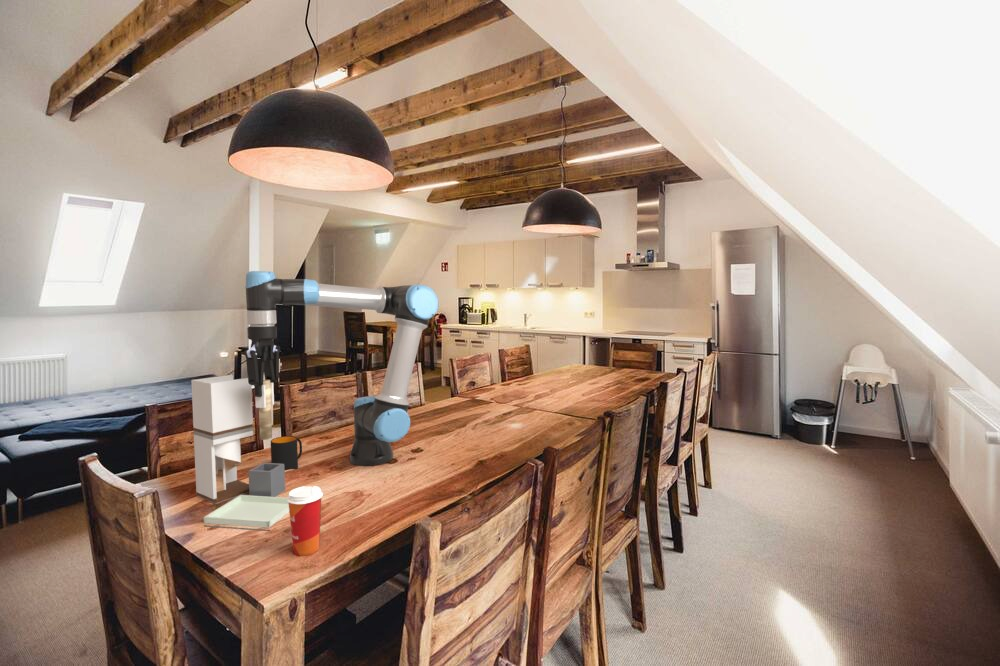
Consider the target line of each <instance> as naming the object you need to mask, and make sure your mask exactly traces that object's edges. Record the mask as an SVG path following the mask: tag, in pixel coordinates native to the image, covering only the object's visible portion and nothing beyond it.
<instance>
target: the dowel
mask: <svg viewBox="0 0 1000 666" xmlns="http://www.w3.org/2000/svg"><path fill="white" fill-rule="evenodd" d="M263 385H265V391H266V408H258V419H259V421H258V422H259V440H260V441H266V440H268V441H269V440H272V439H273V423H272V419H273V417H272V405H271V389H270V380H265V379H263Z"/></svg>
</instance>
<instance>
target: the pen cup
mask: <svg viewBox="0 0 1000 666" xmlns="http://www.w3.org/2000/svg"><path fill="white" fill-rule="evenodd" d="M285 471H286V470H285V469H284V464H278V463H271V462H262V463H260V464H258V465H256V466H255V467H253V468H251V469H250V470H248V484H249V492H248V493H249V494H248V495H251V496H267V497H278V496H279V495H280V494H282V493H283V492H284V491H286V479H285V478H286V475H285Z"/></svg>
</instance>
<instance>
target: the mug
mask: <svg viewBox="0 0 1000 666" xmlns="http://www.w3.org/2000/svg"><path fill="white" fill-rule="evenodd" d="M298 443H299V445H298ZM302 444H303V442H302V440H301V439H300V438H297V437H296V436H294V435H292V436H291V435H286V436H284V435H283V436H278V437H275V438H271V439H270V459H271V460H270V463H278V464H284V469H285V471H287V470H298V468H299V459H300V458H301V457H302V453H303V445H302ZM298 446H299V452H298Z"/></svg>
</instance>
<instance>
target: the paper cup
mask: <svg viewBox="0 0 1000 666" xmlns="http://www.w3.org/2000/svg"><path fill="white" fill-rule="evenodd" d="M323 495H324V494H323V491H322V490H321V488H320V487H319V486H316V485H314V486H312V485H307V486H305V485H304V486H299V487H297V488H293V489H292V490H290V491H289V493H288V496H287V497H286V498H287V501H288V502H289V521H290V532H291V544H292V550H293V554H294V555H295V556H297V557H306V556H311V555H313V554H315V553H316V552H317V551H319V549H320V541H321V540H320V539H321V519H322V518H321V517H322V515H321V514H322V513H321V512H322V511H321V510H322V497H323Z"/></svg>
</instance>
